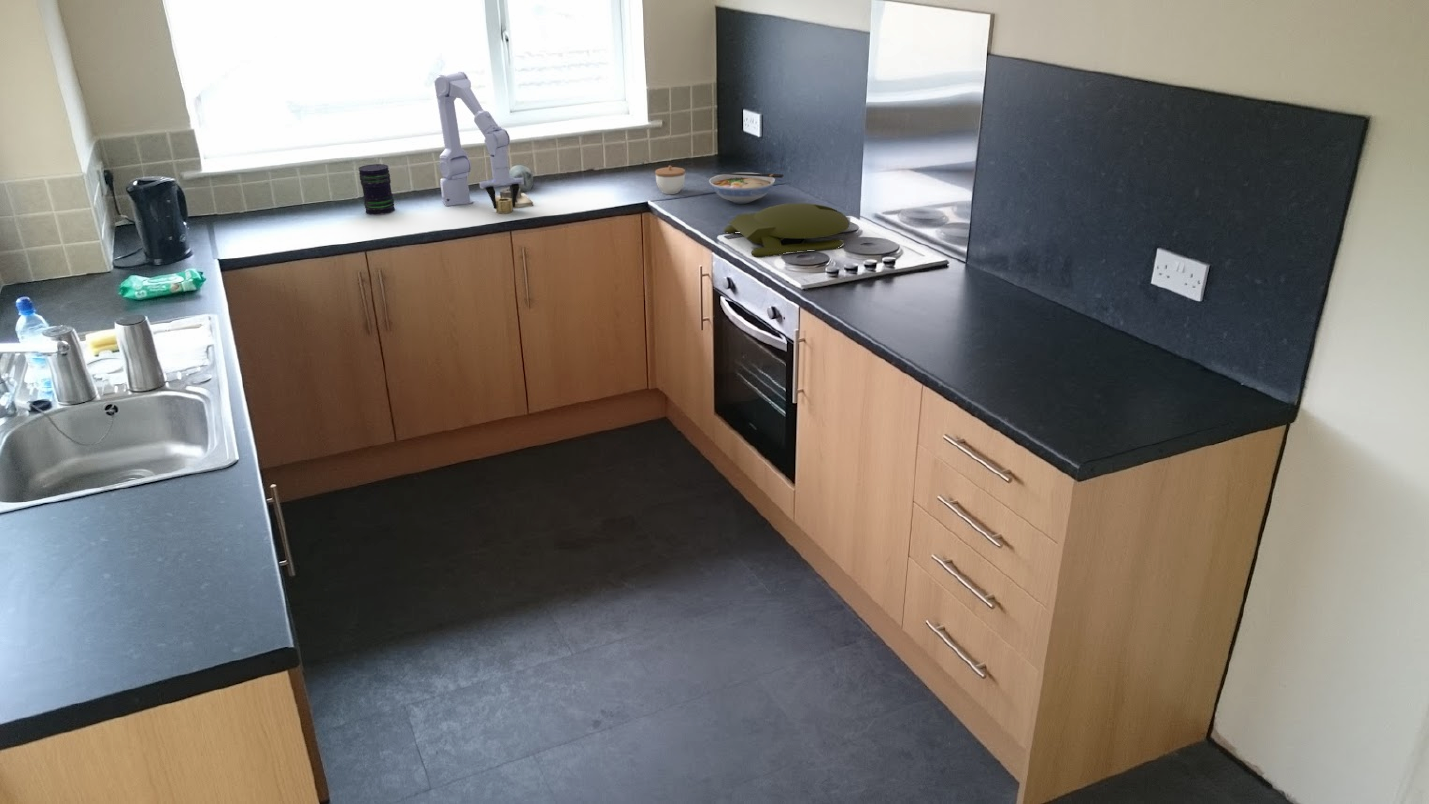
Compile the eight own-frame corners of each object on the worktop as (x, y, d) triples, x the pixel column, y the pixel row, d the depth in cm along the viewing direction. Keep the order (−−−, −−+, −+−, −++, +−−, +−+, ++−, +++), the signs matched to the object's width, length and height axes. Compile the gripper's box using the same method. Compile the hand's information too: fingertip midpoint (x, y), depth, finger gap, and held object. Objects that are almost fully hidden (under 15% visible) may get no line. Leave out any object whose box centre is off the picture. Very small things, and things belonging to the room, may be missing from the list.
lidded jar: (675, 197, 363) (674, 170, 359) (650, 193, 368) (648, 167, 364) (691, 190, 371) (690, 164, 367) (666, 187, 376) (665, 161, 372)
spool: (539, 183, 372) (524, 158, 369) (517, 197, 371) (501, 172, 369) (538, 183, 385) (523, 160, 382) (517, 197, 384) (502, 173, 382)
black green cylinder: (386, 215, 348) (379, 171, 341) (360, 214, 350) (352, 170, 343) (400, 207, 357) (393, 164, 350) (374, 206, 359) (367, 163, 352)
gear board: (501, 209, 352) (499, 196, 350) (493, 199, 364) (492, 187, 362) (533, 205, 356) (531, 192, 354) (524, 196, 368) (523, 183, 366)
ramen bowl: (697, 207, 350) (696, 183, 347) (718, 191, 370) (718, 168, 366) (767, 212, 343) (767, 187, 339) (785, 195, 362) (786, 172, 359)
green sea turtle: (754, 260, 297) (754, 227, 293) (722, 232, 324) (721, 201, 320) (865, 247, 306) (867, 215, 302) (825, 221, 333) (826, 191, 329)
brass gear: (498, 214, 346) (496, 202, 345) (495, 210, 351) (493, 198, 349) (514, 212, 348) (513, 200, 346) (511, 208, 353) (510, 196, 351)
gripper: (480, 171, 337) (485, 212, 343) (524, 167, 342) (528, 207, 348) (476, 167, 343) (481, 207, 349) (519, 163, 348) (523, 202, 354)
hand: (504, 207), depth 349 cm, fingers closed on brass gear, 6 cm apart
